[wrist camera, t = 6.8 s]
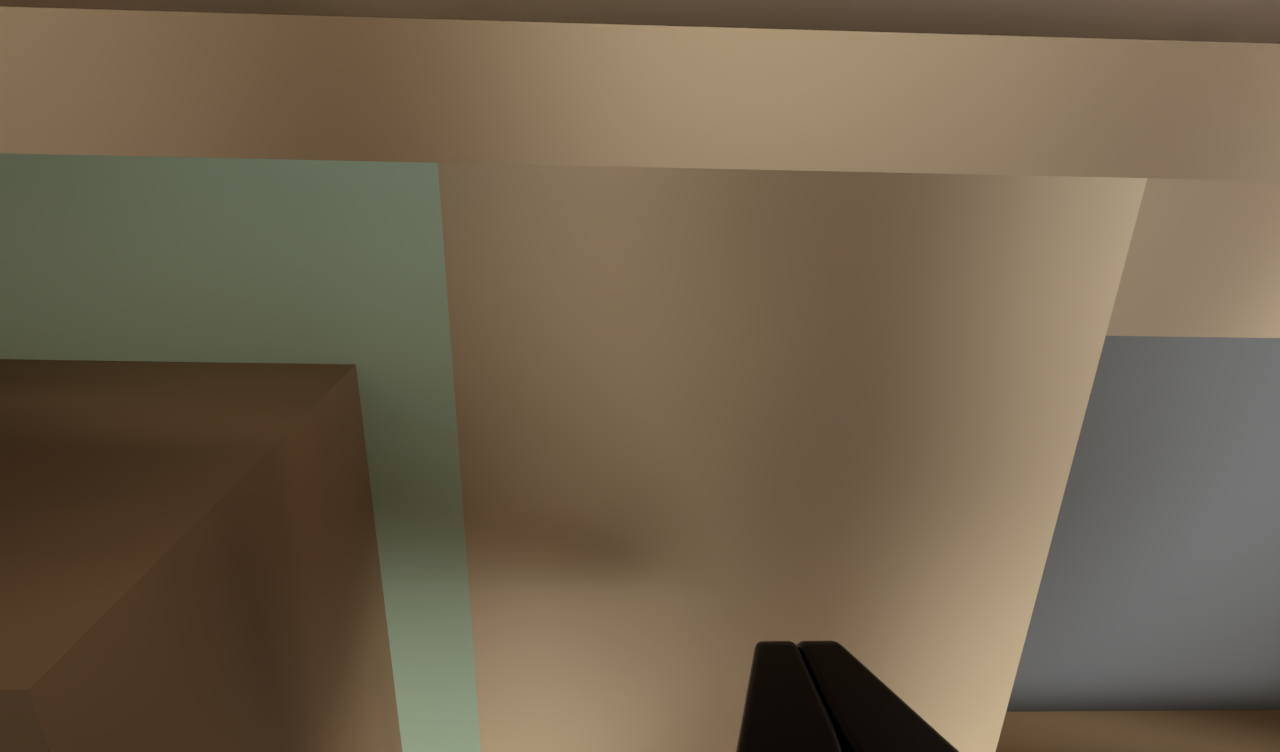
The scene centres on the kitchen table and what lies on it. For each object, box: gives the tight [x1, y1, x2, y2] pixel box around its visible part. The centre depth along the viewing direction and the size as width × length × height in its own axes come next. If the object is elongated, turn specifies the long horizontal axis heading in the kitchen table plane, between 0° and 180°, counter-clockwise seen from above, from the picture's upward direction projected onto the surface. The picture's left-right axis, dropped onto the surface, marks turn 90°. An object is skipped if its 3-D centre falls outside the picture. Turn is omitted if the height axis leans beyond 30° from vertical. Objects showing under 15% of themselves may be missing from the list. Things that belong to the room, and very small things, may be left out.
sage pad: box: [0, 153, 481, 752], centre depth 9 cm, size 8×10×1 cm
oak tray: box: [0, 6, 1280, 752], centre depth 9 cm, size 30×12×3 cm, turn 89°
